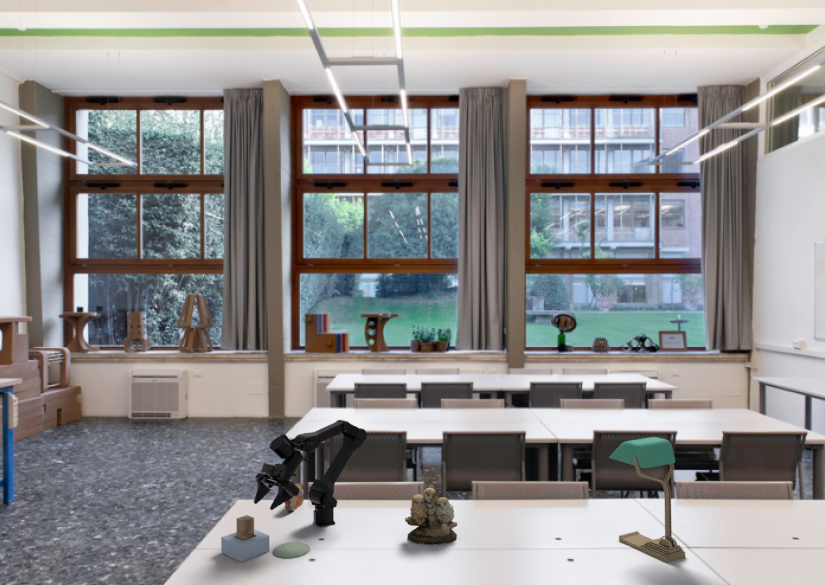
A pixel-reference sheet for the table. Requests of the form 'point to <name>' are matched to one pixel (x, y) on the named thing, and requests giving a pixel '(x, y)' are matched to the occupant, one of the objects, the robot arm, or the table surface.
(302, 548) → the sage-green mat
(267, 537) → the slate-blue holder
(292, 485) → the robot arm
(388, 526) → the table surface
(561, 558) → the table surface
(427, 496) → the owl figurine
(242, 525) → the walnut peg
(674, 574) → the table surface
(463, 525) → the table surface
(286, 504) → the tin
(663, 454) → the banker's lamp
